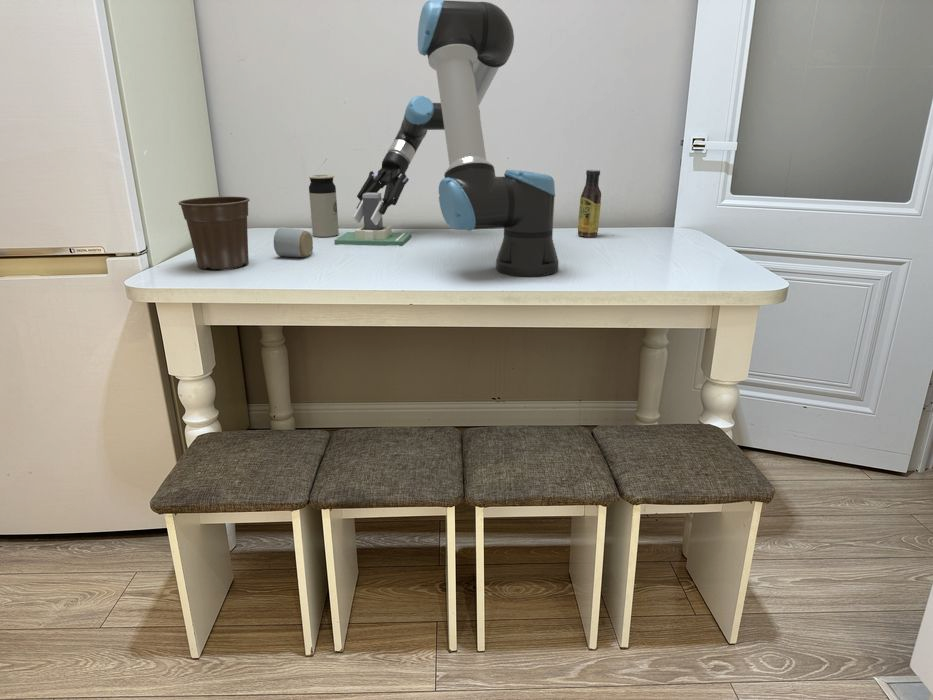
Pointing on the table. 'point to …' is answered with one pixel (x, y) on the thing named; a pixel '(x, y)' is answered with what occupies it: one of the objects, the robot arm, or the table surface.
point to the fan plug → (371, 210)
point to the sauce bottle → (590, 205)
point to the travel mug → (323, 206)
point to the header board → (374, 237)
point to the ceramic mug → (292, 242)
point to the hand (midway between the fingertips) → (364, 220)
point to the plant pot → (218, 230)
